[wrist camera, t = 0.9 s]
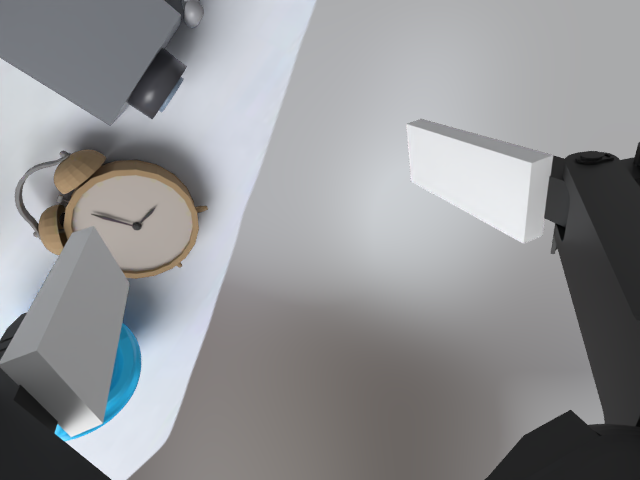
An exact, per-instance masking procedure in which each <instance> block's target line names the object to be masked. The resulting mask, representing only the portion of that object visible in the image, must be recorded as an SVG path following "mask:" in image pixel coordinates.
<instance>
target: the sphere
mask: <svg viewBox="0 0 640 480" xmlns="http://www.w3.org/2000/svg"><path fill="white" fill-rule="evenodd" d="M140 372H141V352H140V347H139V344H138V341H137V339H136V337H135V336H134V334H133V333H132V332H131V330H130V329H129V328H128V327H127V326H126V325H125V324H124V323H122V327H121V332H120V337H119V342H118V348H117V353H116V358H115V363H114V368H113V374H112V379H111V384H110V389H109V395H108V400H107V405H106V410H105V415H104V421H103V424H101V425H99V426H96V427H94V428H92V429H89V430H87V431H85V432H82V433H80V434H78V435H75V436H73V437H70V436H69V435H68V434H67V433H66V432H65V431H64V430H63V429H62V428H61V427H60V426H59V425H58V424H57V427H56V430H55V434H56V435H57V436H58V437H59V438H61V439H62V440H63V441H68V440H72V439H75V438H78V437H81V436H84V435H86V434H88V433H91V432H93V431H95V430H96V429H98V428H100V427H101V426H103V425H104V424H106V423H107V422H108V421H110V420H111V419H112V418H113V417H114V416H116V415H117V414H118V413H119V412H120V411H121V410H122V409H123V407H124V406H125V405H126V404H127V402H128V401H129V399H130V398H131V396H132V395H133V393H134V391H135V389H136V387H137V384H138V381H139V377H140Z"/></svg>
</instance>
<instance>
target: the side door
mask: <svg viewBox="0 0 640 480" xmlns="http://www.w3.org/2000/svg"><path fill="white" fill-rule="evenodd" d="M199 1H200V0H181V2H182V7H183V11H185V12H184V21H185V23H186V25H187V26H189V27H191V28H194V27H196V26H197V25H198V24H199V22H200V20H201V19H202V17H203V14H204V10H203V7H202V5H201V4H200V3H199Z"/></svg>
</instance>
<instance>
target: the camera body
mask: <svg viewBox="0 0 640 480" xmlns="http://www.w3.org/2000/svg"><path fill="white" fill-rule="evenodd" d="M180 24H181V14H180V13H179V12H177V11H176V10H175V9H174V8H173V7H172V6H170V5H169V4H168V3H167V2H166V1H165V0H0V58H1V59H3V60H5V61H6V62H8V63H9V64H11V65H13V66H14V67H16V68H18V69H19V70H21V71H22V72H24V73H26V74H27V75H29V76H31V77H32V78H34V79H35V80H37V81H39V82H40V83H42V84H43V85H45V86H47V87H48V88H50V89H52V90H53V91H55V92H56V93H58V94H60V95H61V96H63V97H65V98H66V99H68V100H69V101H71V102H73V103H74V104H76V105H77V106H79V107H81V108H82V109H84V110H86V111H87V112H89V113H90V114H92V115H94V116H95V117H97V118H98V119H100V120H102V121H103V122H105V123H107V124H108V125H110V126H111V125H112V124H113V122H114V121H115V120H116V119H117V118H118V117H119V116H120V115H121V114H122V113H123V112H124V111H125V110H126V108H127V107H128V105H129V104H130V105H131V106H133V107H134V108H136V109H137V110H139V111H140V112H142V113H143V114H145V115H146V116H148V117H149V118H151V119H153V118H154V116H155V115H156V114H157V112H158V111H161V112H163V110H164V109H165V108H166V106H167V105H168V103H169V102H170V100H171V99H172V97H173V96H174V94H175V93H176V91H177V89H178V88H179V86H180V85H181V83H182V81H183V78H182V77H181V75H182V74H183V72H184V70H185V69H186V67H187V66H185V65H184V64H183V63H182V62H180V61H179V60H178V59H176V58H175V57H174V56H173V55H171V54H170V53H169V52H168V51H166V50H165V47H166V46H167V44H168V42H169V41H170V39H171V38H172V36H173V35H174V33H175V31H176V30H177V28H178V27H179V25H180Z"/></svg>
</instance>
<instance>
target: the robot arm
mask: <svg viewBox="0 0 640 480" xmlns="http://www.w3.org/2000/svg"><path fill="white" fill-rule="evenodd" d="M406 126H407V138H408V150H409V161H410V174H411V182H413V183H415V184H416V185H418V186H420V187H422V188H424V189H425V190H427V191H429V192H431V193H433V194H434V195H437V196H438V197H440V198H442V199H444V200H445V201H447V202H449V203H451V204H453V205H454V206H456V207H458V208H460V209H462V210H463V211H465V212H467V213H469V214H471V215H472V216H474V217H476V218H478V219H480V220H482V221H483V222H485V223H487V224H489V225H491V226H493V227H494V228H496V229H498V230H500V231H502V232H503V233H505V234H507V235H509V236H511V237H513V238H514V239H516V240H518V241H520V242H522V243H526V242H529V241H531V240H533V239H535V238H538V237H540V236H542V235H543V229H544V221H545V219H548V220H550V221H552V222H554V223H555V229H554V235H553V242H552V248H551V254H555V250H556V249H558V252H559V255H560V259H561V262H562V265H563V269H564V273H565V276H566V280H567V283H568V287H569V291H570V294H571V298H572V302H573V305H574V309H575V312H576V316H577V319H578V323H579V327H580V330H581V333H582V337H583V341H584V344H585V348H586V351H587V355H588V359H589V362H590V366H591V369H592V373H593V377H594V380H595V384H596V387H597V390H598V394H599V398H600V401H601V405H602V409H603V413H604V420H605V424H594V425H587V424H586V423H585V422H584V421H583V420H581V419H580V418H579V417H578V416H577V415H576V414H575V413H574V412H573V411H572V410H569V411H568V412H566V413H564V414H563V415H561V416H558V417H557V418H555V419H553V420H551V421H550V422H548V423H546V424H544V425H542V426H540V427H539V428H537V429H535V430H533V431H532V432H530V433H528V434H526V435H524V436H523V437H522V438H521V439H520V441H519V442H518V443H517V444H516V445H515V446H514V447H513V449H512V450H511V451H510V452H509V453H508V455H507V456H506V457H505V458H504V459H503V460H502V462H500V464H499V465H498V466H497V467H496V468H495V469H494V470H493V472H492V473H491V474H490V475H489V476H488V477H487V478H486V479H485V480H640V142H639V143H638V147H637V151H636V155H635V157H634V158H629V159H624V160H619V158H617V157H616V156H614V155H612V154H610V153H604V152H597V151H588V152H580V153H575V154H571V155H569V156H567V157H566V158H565V159H564V158H560V157H556V156H553V155H552V154H548V153H544V152H540V151H537V150H533V149H529V148H526V147H522V146H518V145H515V144H511V143H508V142H504V141H500V140H497V139H493V138H489V137H486V136H482V135H478V134H475V133H471V132H467V131H463V130H460V129H456V128H453V127H449V126H446V125H442V124H438V123H435V122H431V121H427V120H424V119H420V120H417V121H414V122H410V123H407V124H406ZM129 285H130V283H129V281H128V280H127V278H126V277H125V275H124V273H123V272H122V270H121V268H120V267H119V265H118V264H117V262H116V260H115V259H114V257H113V256H112V254H111V252H110V251H109V249H108V247H107V246H106V244H105V243H104V241H103V239H102V238H101V236H100V235H99V233H98V231H97V230H96V228H95V227H94V226H92V227H88V228H85V229H82V230H79V231H76V232H73V233H72V234H71V236H70V237H69V239H68V241H67V243H66V245H65V246H64V248H63V250H62V252H61V253H60V255H59V257H58V259H57V261H56V262H55V264H54V266H53V268H52V269H51V271H50V273H49V275H48V277H47V278H46V280H45V282H44V284H43V285H42V287H41V289H40V291H39V293H38V294H37V296H36V298H35V300H34V301H33V303H32V305H31V307H30V309H29V310H28V312H27V313H24V314H22V315H21V316H20V317H18V318H17V319H16V320H15V321H14V322H13V323H12V324H11V325H10V326H9V327H8V328H7V330H6V331H5V333H4V335H3V336H2V338H1V340H0V480H111V479H110V478H109V477H108V476H106V475H105V474H104V473H103V472H101V471H100V470H99V469H98V468H96V467H95V466H94V465H93V464H92V463H90V462H89V461H88V460H87V459H85V458H84V457H83V456H82V455H80V454H79V453H78V452H77V451H76V450H74V449H73V448H72V447H71V446H69V445H68V444H67V443H66V442H64V441H63V440H62V439H61V438H59V437H58V436H57V435H56V434H55V430H56V427H57V424H58V425H59V426H60V427H61V428H62V429H63V430H64V431H65V432H66V433H67V434H68V435H69V436H70V437H73V436H75V435H78V434H80V433H82V432H85V431H87V430H89V429H92V428H94V427H96V426H99V425H101V424H103V421H104V415H105V410H106V405H107V400H108V395H109V389H110V384H111V379H112V374H113V368H114V363H115V358H116V353H117V348H118V342H119V337H120V332H121V327H122V322H123V316H124V311H125V306H126V301H127V295H128V290H129Z"/></svg>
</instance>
